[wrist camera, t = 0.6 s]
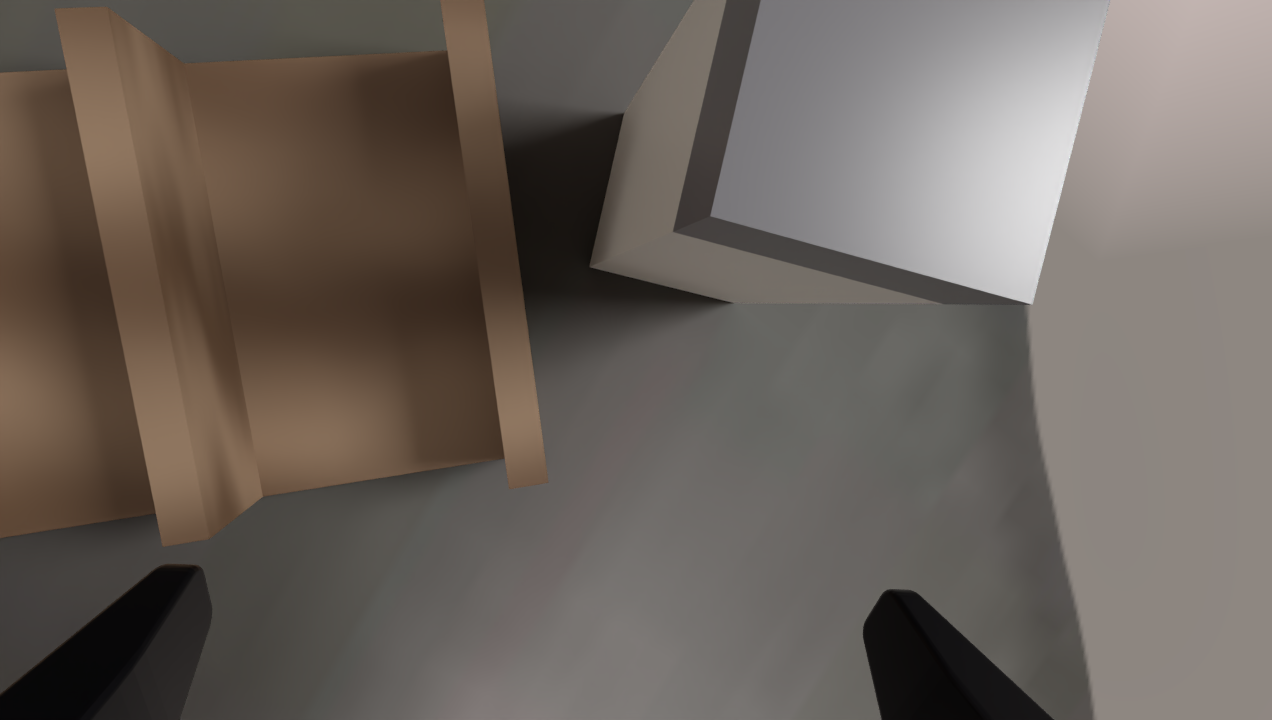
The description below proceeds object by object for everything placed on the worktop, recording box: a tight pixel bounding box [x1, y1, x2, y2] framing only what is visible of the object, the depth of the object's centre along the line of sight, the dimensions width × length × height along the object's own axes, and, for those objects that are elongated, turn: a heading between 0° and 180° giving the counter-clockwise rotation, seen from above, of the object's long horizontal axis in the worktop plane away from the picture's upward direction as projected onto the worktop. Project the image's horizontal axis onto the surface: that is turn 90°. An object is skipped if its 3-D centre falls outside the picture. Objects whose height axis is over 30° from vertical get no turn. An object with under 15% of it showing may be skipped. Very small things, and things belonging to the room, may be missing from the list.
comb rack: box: [0, 0, 548, 547], centre depth 16 cm, size 12×25×4 cm, turn 97°
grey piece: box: [589, 0, 1110, 305], centre depth 15 cm, size 5×5×13 cm
